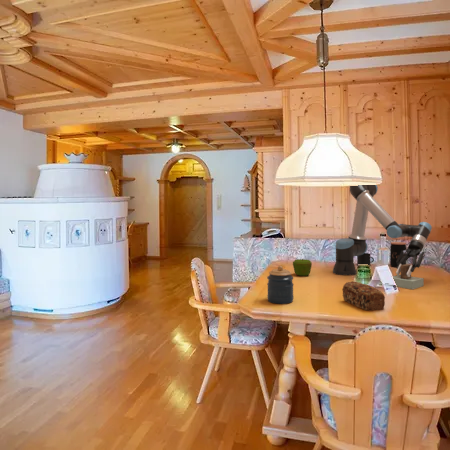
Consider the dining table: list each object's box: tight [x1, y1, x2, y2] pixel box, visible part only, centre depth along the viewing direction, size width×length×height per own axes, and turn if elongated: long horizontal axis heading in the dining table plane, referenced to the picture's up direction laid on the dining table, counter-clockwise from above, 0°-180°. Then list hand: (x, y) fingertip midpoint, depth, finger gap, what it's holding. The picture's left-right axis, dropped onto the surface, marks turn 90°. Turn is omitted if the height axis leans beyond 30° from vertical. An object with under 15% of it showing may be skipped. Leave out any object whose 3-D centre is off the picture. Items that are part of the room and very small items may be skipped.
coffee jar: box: [389, 241, 407, 268], centre depth 267 cm, size 11×11×18 cm
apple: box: [292, 258, 313, 277], centre depth 240 cm, size 12×12×11 cm
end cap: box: [393, 274, 425, 290], centre depth 207 cm, size 14×13×4 cm
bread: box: [342, 281, 386, 311], centre depth 169 cm, size 19×11×10 cm, turn 15°
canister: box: [266, 265, 294, 305], centre depth 178 cm, size 13×13×18 cm
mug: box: [356, 252, 375, 266], centre depth 273 cm, size 9×12×9 cm
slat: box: [400, 263, 412, 279], centre depth 207 cm, size 3×6×12 cm, turn 126°
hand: (402, 274), depth 204 cm, fingers open, 5 cm apart
